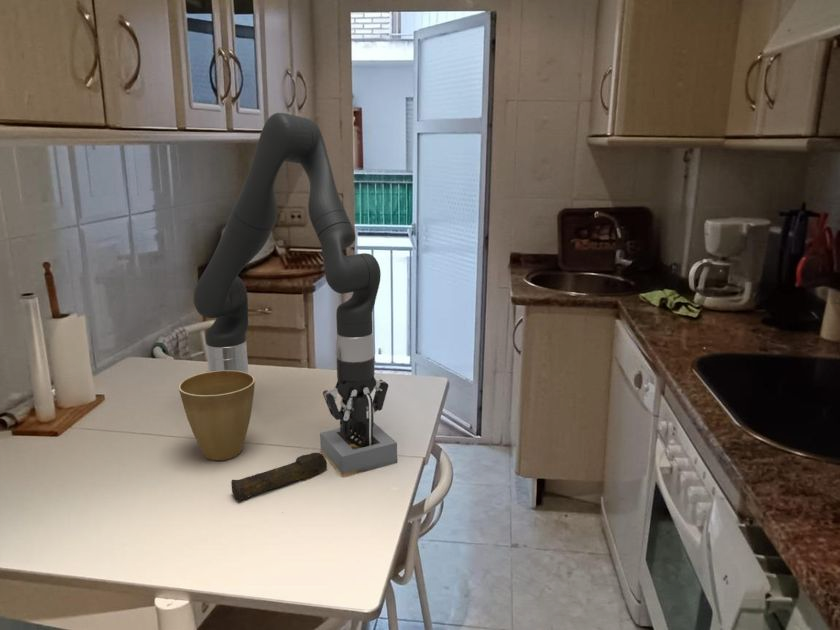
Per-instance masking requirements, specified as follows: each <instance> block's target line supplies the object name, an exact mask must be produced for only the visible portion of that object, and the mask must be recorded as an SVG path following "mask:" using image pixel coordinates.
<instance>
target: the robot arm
mask: <svg viewBox="0 0 840 630" xmlns="http://www.w3.org/2000/svg"><path fill="white" fill-rule="evenodd" d="M284 162H288V163H294V164H300V165H301V167H302V168H303V170H304V172H305V173H306V175H307V177H308V181H309V194H308V202H307V204H308V205H307V209H308V216H309V219H310V220H309V221H310V222H311V225H312V228H313V229H314V231H315V235H316V236H317V238H318V241H319V243H320V247H321V253H322V259H323V269H324V275H325V280H326V284H327V285H328V286H329V287H330V289H331V290H332V291H334V292H336V293H337V294H343V295H344V294H349V293H352V294H351V297H350V298H349V299H348V300H346V301H344V302H343V303H341V304H339V305H338V306H337V309H336V315H335V316H336V339H335V340H336V341H335V355H336V357H335V358H336V377H337V378H336V379H337V382H336V384H335V386H334V387H335V388H332V389H330V390H329V391H328V390H326V389H325V390H323V392H322V395H323V398H324V400H325V403H326V405H327V408H328V411H329V413H330V415H331V417H333V418H334V419H335V420H336V421H338V420H339V425H340V426H339V428H340V431H341V432H342V433H343V434H344V435H345V436H346V437H349V436H350V420H349V416H350V412H351V410H352V404H353V399H354V398H355V397H356V395H357V394H359V393H363V394H364V395H365V394H370V395H371V394H372V392H374V389H375V392H374V395H373V398H372V402H373V416H374V415H375V413H376V412H377V411H382V410H383V407H384V403H385V400H386V398H387V397H386V396H387V392H388V388H389V383H387V382H386V381H385V380H383V379H379V380H376V378H375V341H374V333H373V330H374V329H373V311H374V307H375V304H376V300H377V295H378V291H379V288H380V284H381V274H382V273H381V267H380V264H379V262H378V260H377V258H376V257H375V256H373V255H372V254H371V253H366V252H365V253H364V252H363V253H357V254H350V255H349V254H348V255H345V253H344V250H346V249H348V248H349V247H351V246H352V245H353V244H354V243H355V240H356V233H355V230H354V228H353V226H352V225H353V224H352V223H351V220H350V218H349V216H348V214H347V211H346V210H345V208H344V205H343V203H342V201H341V198H340V195H339V193H338V189H337V185H336V183H335V179H334V175H333V171H332V170H333V169H332V167H331V163H330V159H329V155H328V151H327V147H326V144H325V139H324V137H323V135H322V132H321V130H320V127H319V126H318V124H317V123H316V122H315V121H314V120H312V119H310V118H307V117H304V116H298V115H294V114H290V113H284V112H275V113H273V114H272V115H270V116H269V117H268V119H267V120H266V122H265V123H264V125H263V127H262V130H261V132H260V135H259V139H258V142H257V144H256V148H255V151H254V154H253V157H252V161H251V165H250V167H249V170H248V173H247V175H246V178H245V180H244V183H243V185H242V189H241V191H240V193H239V194H238V195H239V196H238V198H237V200H236V202H235V204H234V206H233V209H232V211H231V214H230V216H229V218H228V220H227V223H226V226H225V228H224V231H223V233H222V235H221V237H220V239H219V242H218V244H217V246H216V248H215V251H214V252H213V255H212V257H211V259H210V261H209V263H208V264H207V266H206V268H205V269H204V271H203V273H202V275H201V276H200V278H199V279H198V282H197V284H196V285H195V289H194V292H193V304H194V308H195V310H196V311H197V313H198V314H200V316H202V317H204V318H206V319H215V320H214V322H213V323H212V324H211V326H210V327H209V328H208V329H207V330H206V331H205V334H204V337H205V339H204V340H205V347H206V358H207V367H208V368H207V369H208V370H206V372H212V371H222V370H233V371H242V372H246V373H249V363H248V362H249V361H248V350H247V348H248V347H247V332H248V328H249V301H248V300H249V297H248V291H247V288H246V284H245V283H244V281H243V280H242V279H241V278H240V277H239V275H240V273H241V272H242V270H243V269H244V268H245V267H246V266H247V265H248V264H249V263H250V262H251V261H252V260H253V259H254V258H255V257H256V256H257V255H258V254H259V253H260V251H262V250H263V248H264V247H265V245H266V243H267V242H268V240H269V238H270V235H271V233H272V232H273V229H274V227H275V225H276V223H277V219H278V207H277V200H276V194H275V182H276V179H277V177H278V173H279V171H280V169H281V167H282V165H283V164H284ZM249 374H250V373H249ZM338 395H339V396H340V397H341V399H340V408H338V405H337V403H336V401H337V400H338V399H337V398H338V397H337V396H338ZM344 400H345V401H346V402H347V404H346V403H345V401H344ZM374 423H375V422H374V421H373V426H374Z"/></svg>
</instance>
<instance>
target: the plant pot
mask: <svg viewBox="0 0 840 630" xmlns="http://www.w3.org/2000/svg"><path fill="white" fill-rule="evenodd" d="M255 382H256V379H255V376H253V375H252V374H250V373H246V372H242V371H233V370H222V371H212V372H207V371H206V372H201V373H198V374H194V375H192V376H189V377H187V378H186V379H184V380H183V381H181V382H180V384H179V385H178V391H179V395H180V399H181V402H182V407H183V409H184V412H185V415H186V418H187V421H188V424H189V427H190V428H191V431H192V433H193V435H194V438H195V440H196V442H197V444H198V446H199V448H200V450H201V452H202V454H203V455H204V457H205V458H206V459H208V460H210V459H211V461H215V460H221V461H226V460H231V459H234V458H235V457H237V456H239V455H240V453H242V449H243V446H244V443H245V440H246V437H247V433H248V429H249V425H250V419H251V416H252V415H251V414H252V410H253V403H254V395H255V394H254V392H255V384H256V383H255ZM238 454H239V455H238ZM233 457H234V458H233Z"/></svg>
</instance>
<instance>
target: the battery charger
mask: <svg viewBox="0 0 840 630" xmlns="http://www.w3.org/2000/svg"><path fill="white" fill-rule="evenodd" d="M344 401H345V400H344ZM345 403H346V404H347V402H346V401H345ZM349 420H350V436H349V437H346V439H347V440H348V441H350V442H351V443H353V444H354V445H356V446H358V447H360V448H363V447H367V446H371V445H372V444H373V422H374V415H373V397H372V395H371V394H365V395H364V394H363V393H359V394H357V395H356V397H355V398H354V399H353V404H352V410H351V412H350V416H349Z"/></svg>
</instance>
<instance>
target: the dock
mask: <svg viewBox="0 0 840 630" xmlns="http://www.w3.org/2000/svg"><path fill="white" fill-rule="evenodd" d="M319 439H320V441H319V442H320V443H319V444H320V453H321V454H322V455H323V456H324V458H325V459H326V461H327V462H329V463H330V465H331V466H333V468H334V469H335V470H336V471H337V472H338V473H339V474H340V476H341V477H342V478H346V477H349V476H353V475H356V474H360V473H363V472H368V471H371V470H375V469H379V468H382V467H383V468H384V467H386V466H390V465H393V464H397V463H398V442H397V441H396V440H394V438H392V437H391V436H390V435H389V434H388V433H387V432H386V431H384V430H383V429H382V428H381V427H379V425H377V424H376V423H375V422H374V426H373V444H372V445H371V446H367V447H363V448H360V447H358V446H356V445H354V444H353V443H351V442H350V441H348V440H347V439H346V436H345V435H344V434H343V433H342V432H341V431H340V427H338V428H333V429H331V430H330V429H329V430H325V431H321V432H320V433H319Z"/></svg>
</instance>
